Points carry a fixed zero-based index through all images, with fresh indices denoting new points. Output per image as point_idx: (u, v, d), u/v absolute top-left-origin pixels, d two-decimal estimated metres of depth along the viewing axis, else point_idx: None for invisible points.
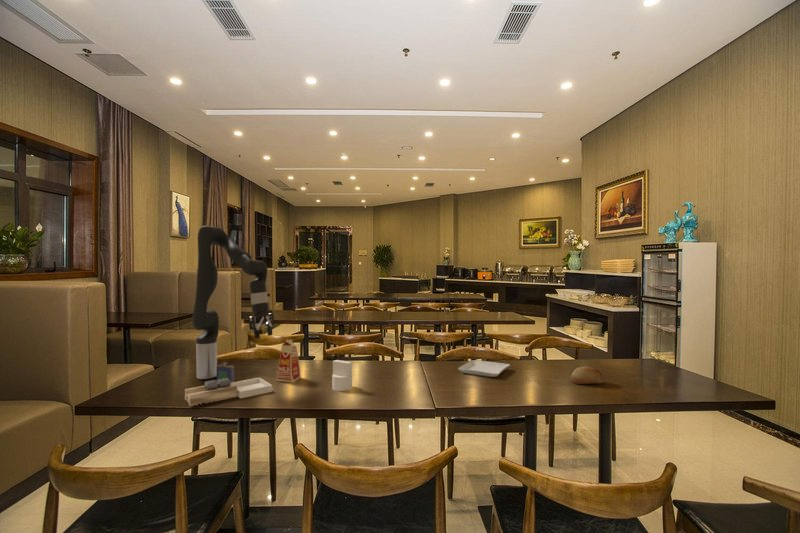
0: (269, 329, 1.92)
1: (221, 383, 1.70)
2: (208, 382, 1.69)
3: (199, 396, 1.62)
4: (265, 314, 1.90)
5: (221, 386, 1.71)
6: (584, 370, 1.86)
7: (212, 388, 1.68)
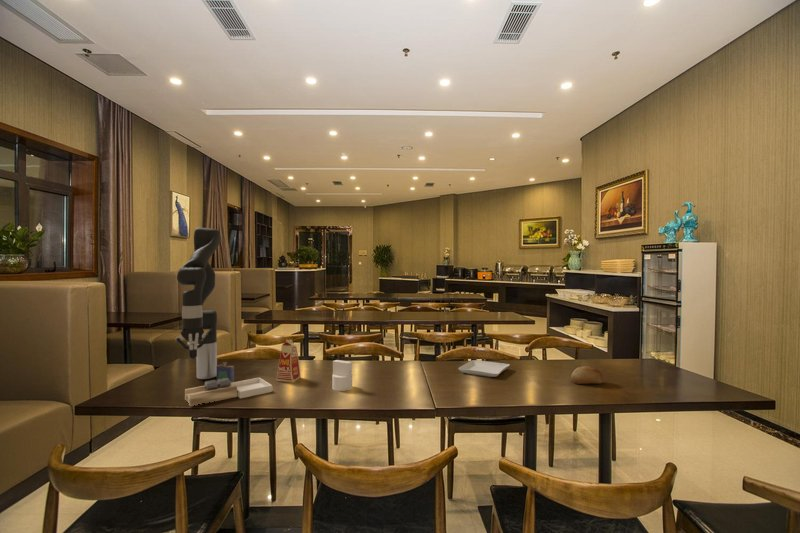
0: None
1: (221, 383, 1.70)
2: (208, 382, 1.69)
3: (199, 396, 1.62)
4: (197, 330, 1.65)
5: (221, 386, 1.71)
6: (584, 370, 1.86)
7: (212, 388, 1.68)
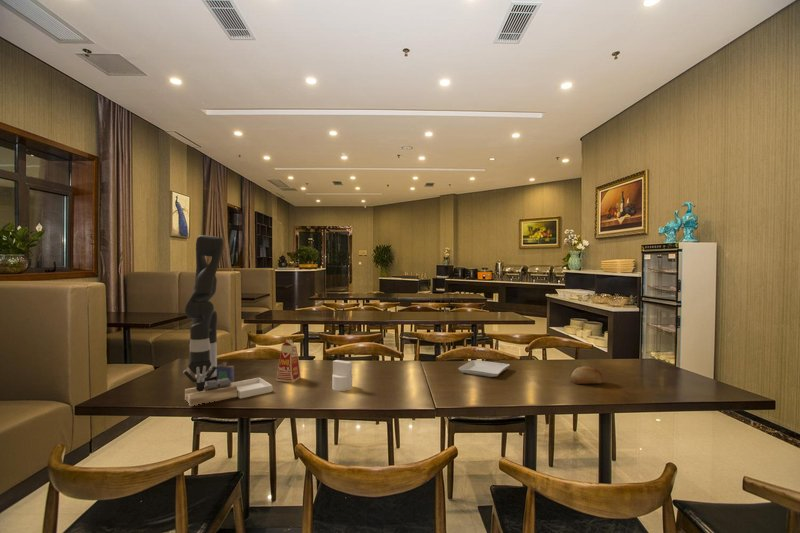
0: None
1: (221, 383, 1.70)
2: (208, 382, 1.69)
3: (199, 396, 1.62)
4: (204, 363, 1.67)
5: (221, 386, 1.71)
6: (584, 370, 1.86)
7: (212, 388, 1.68)
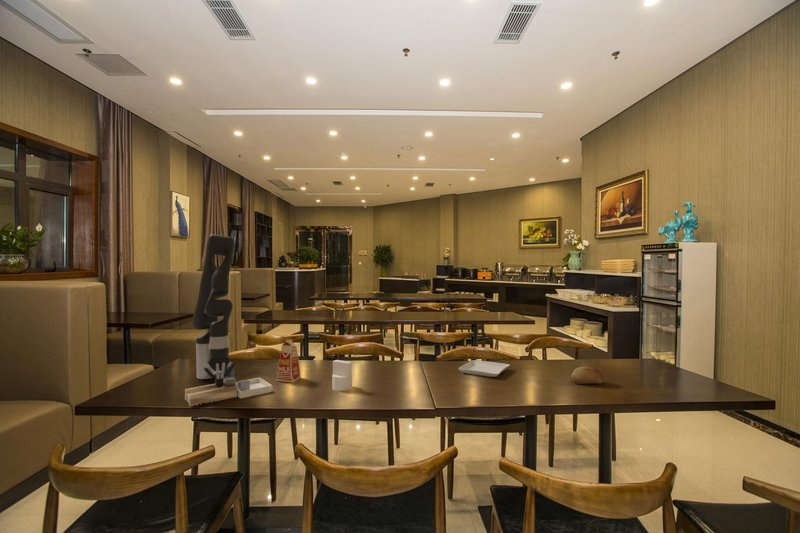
0: None
1: (247, 383, 1.77)
2: (227, 379, 1.73)
3: (199, 396, 1.62)
4: (223, 360, 1.72)
5: (244, 383, 1.76)
6: (584, 370, 1.86)
7: (231, 385, 1.73)
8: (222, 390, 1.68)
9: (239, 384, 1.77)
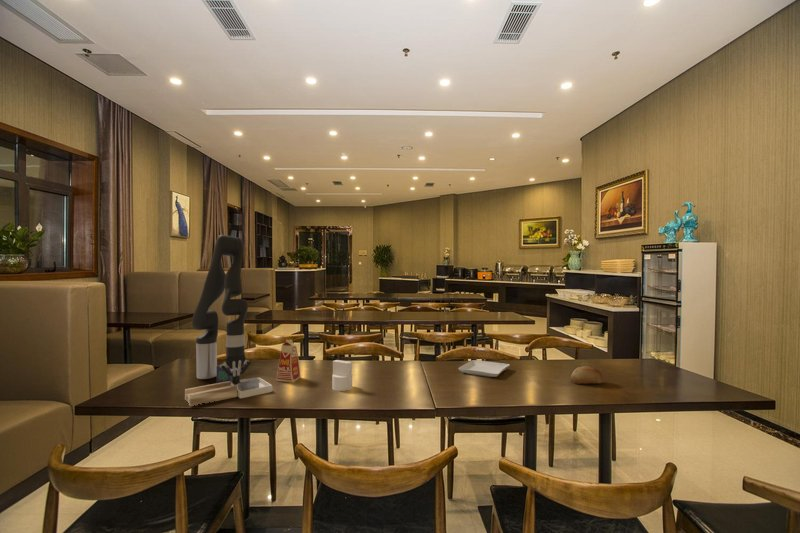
0: None
1: (256, 381, 1.80)
2: (241, 380, 1.77)
3: (199, 396, 1.62)
4: (239, 358, 1.76)
5: (253, 381, 1.79)
6: (584, 370, 1.86)
7: (245, 387, 1.76)
8: (222, 390, 1.68)
9: None
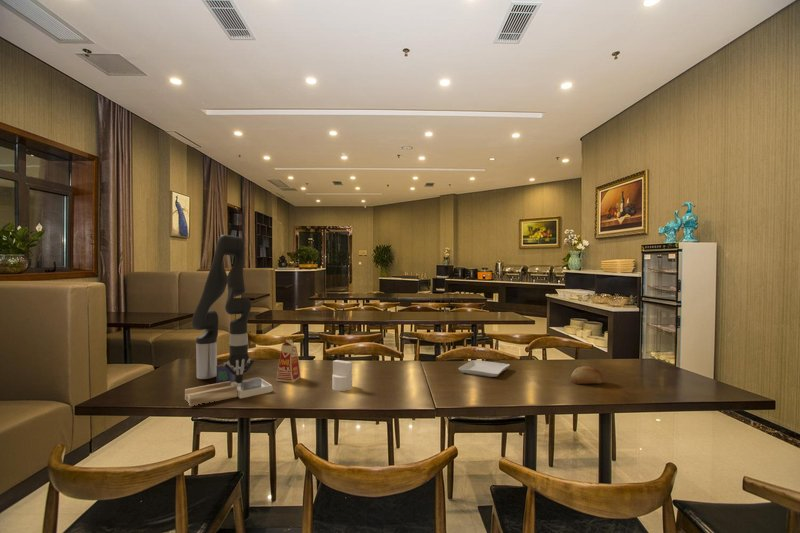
0: None
1: (259, 380, 1.81)
2: (244, 381, 1.78)
3: (199, 396, 1.62)
4: (243, 356, 1.77)
5: (256, 381, 1.80)
6: (584, 370, 1.86)
7: (248, 387, 1.77)
8: (222, 390, 1.68)
9: None
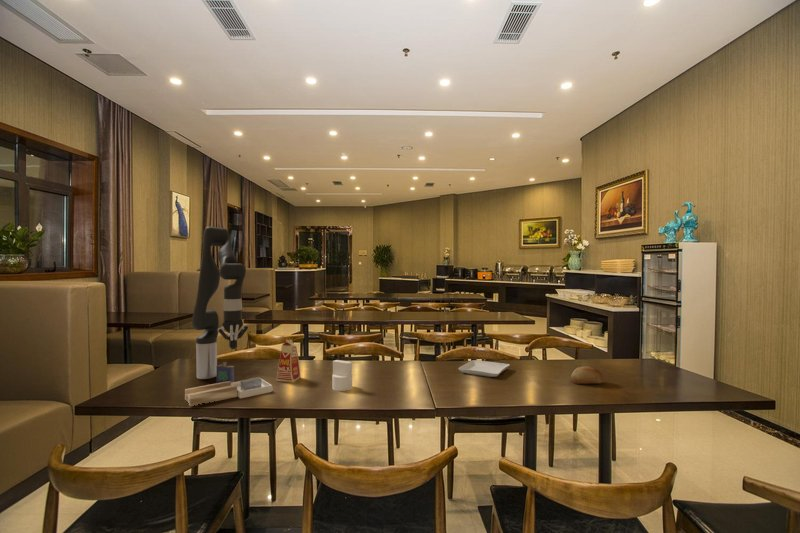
0: None
1: (259, 380, 1.81)
2: (244, 381, 1.78)
3: (199, 396, 1.62)
4: (237, 322, 1.76)
5: (256, 381, 1.80)
6: (584, 370, 1.86)
7: (248, 387, 1.77)
8: (222, 390, 1.68)
9: None
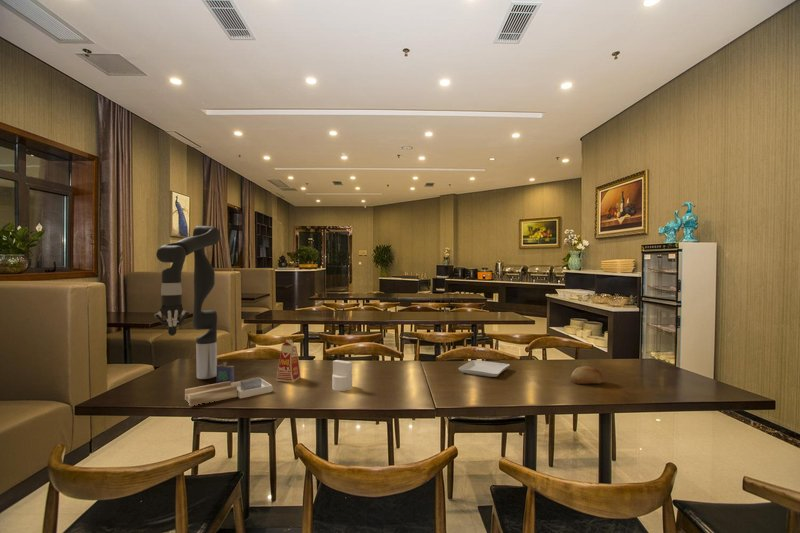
0: None
1: (259, 380, 1.81)
2: (244, 381, 1.78)
3: (199, 396, 1.62)
4: (176, 307, 1.68)
5: (256, 381, 1.80)
6: (584, 370, 1.86)
7: (248, 387, 1.77)
8: (222, 390, 1.68)
9: None
